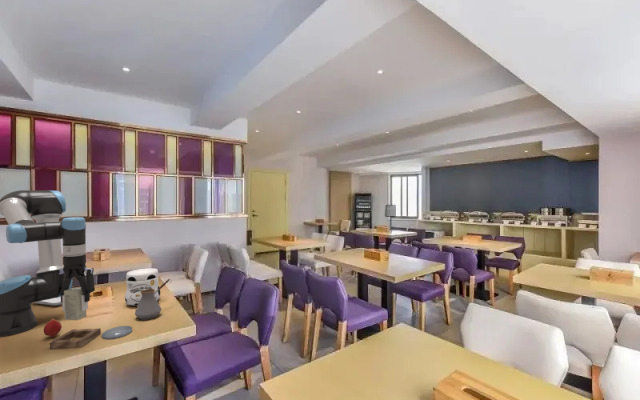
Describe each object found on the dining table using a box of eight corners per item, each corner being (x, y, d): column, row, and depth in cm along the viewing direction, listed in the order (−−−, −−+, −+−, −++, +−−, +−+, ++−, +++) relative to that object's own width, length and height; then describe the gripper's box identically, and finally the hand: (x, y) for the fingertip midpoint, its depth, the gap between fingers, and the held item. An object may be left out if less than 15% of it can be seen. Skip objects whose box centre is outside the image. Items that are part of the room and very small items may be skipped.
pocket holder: (49, 349, 121) (49, 342, 121) (71, 335, 133) (71, 329, 133) (81, 347, 122) (81, 341, 122) (100, 334, 134) (100, 328, 134)
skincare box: (86, 316, 129) (87, 287, 129) (77, 320, 125) (78, 291, 125) (72, 315, 130) (73, 287, 130) (63, 319, 126) (63, 290, 125)
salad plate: (28, 305, 172) (28, 299, 172) (69, 293, 192) (69, 288, 192) (55, 309, 166) (55, 302, 166) (94, 296, 186) (94, 290, 186)
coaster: (96, 339, 128) (96, 337, 128) (112, 328, 139) (111, 326, 139) (123, 338, 129) (123, 336, 129) (137, 327, 140) (137, 325, 140)
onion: (40, 341, 128) (40, 322, 128) (48, 335, 133) (48, 316, 133) (57, 339, 129) (56, 320, 129) (64, 333, 135) (64, 315, 135)
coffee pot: (148, 322, 146) (148, 291, 146) (129, 320, 149) (128, 289, 149) (179, 306, 167) (179, 279, 166) (161, 304, 169) (161, 277, 169)
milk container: (136, 310, 161) (135, 276, 160) (118, 305, 169) (117, 273, 169) (167, 300, 176) (166, 269, 175) (149, 296, 184) (148, 266, 184)
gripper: (41, 257, 122) (43, 314, 123) (93, 256, 124) (94, 312, 124) (56, 253, 130) (57, 307, 130) (105, 252, 131) (105, 305, 132)
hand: (75, 309), depth 127 cm, fingers closed on skincare box, 7 cm apart
